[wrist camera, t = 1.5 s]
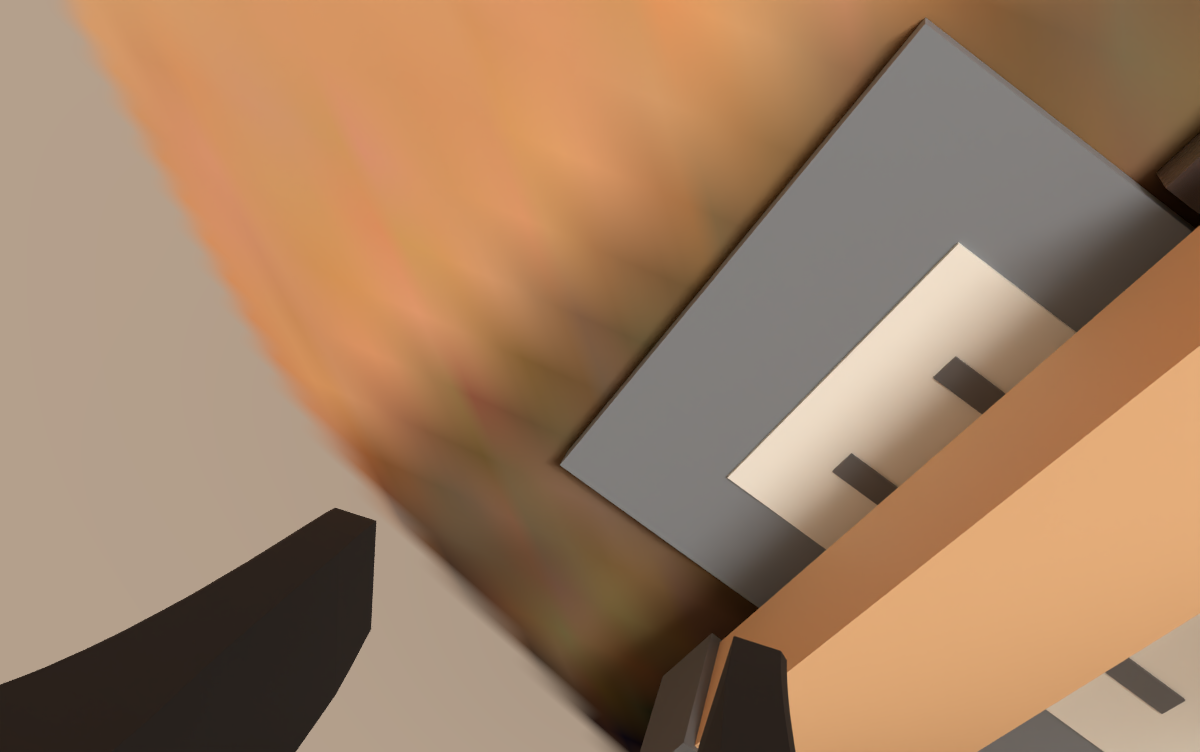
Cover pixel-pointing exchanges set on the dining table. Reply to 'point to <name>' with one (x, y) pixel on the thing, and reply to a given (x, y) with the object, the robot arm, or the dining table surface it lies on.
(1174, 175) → the arm mount
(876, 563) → the tan wooden bar
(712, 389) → the label plate
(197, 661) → the robot arm
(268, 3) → the dining table surface
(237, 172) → the dining table surface
